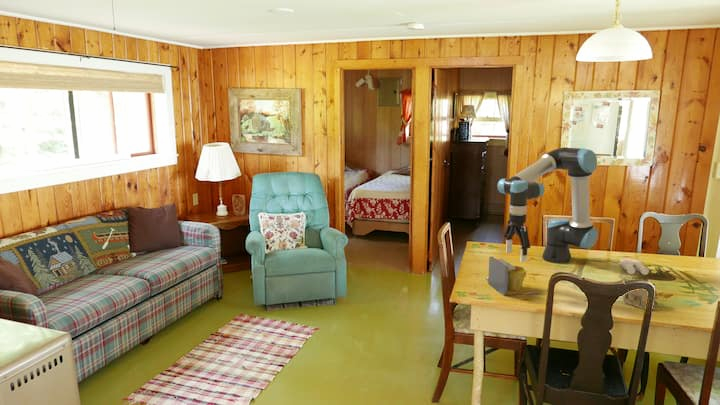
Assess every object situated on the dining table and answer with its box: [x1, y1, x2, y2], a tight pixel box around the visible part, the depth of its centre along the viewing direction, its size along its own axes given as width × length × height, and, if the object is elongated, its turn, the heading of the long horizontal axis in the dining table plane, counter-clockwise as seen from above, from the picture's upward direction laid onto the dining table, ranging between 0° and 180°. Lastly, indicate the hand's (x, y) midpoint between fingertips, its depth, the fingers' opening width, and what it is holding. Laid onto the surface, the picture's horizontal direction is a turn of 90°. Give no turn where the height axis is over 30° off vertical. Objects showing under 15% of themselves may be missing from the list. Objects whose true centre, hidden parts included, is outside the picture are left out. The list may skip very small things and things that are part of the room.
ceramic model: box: [622, 289, 659, 311], centre depth 218 cm, size 14×11×10 cm
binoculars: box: [619, 258, 650, 276], centre depth 263 cm, size 10×16×5 cm, turn 169°
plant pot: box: [507, 265, 527, 291], centre depth 239 cm, size 10×10×10 cm
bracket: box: [487, 256, 540, 297], centre depth 238 cm, size 18×18×14 cm
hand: (515, 257), depth 237 cm, fingers open, 13 cm apart
